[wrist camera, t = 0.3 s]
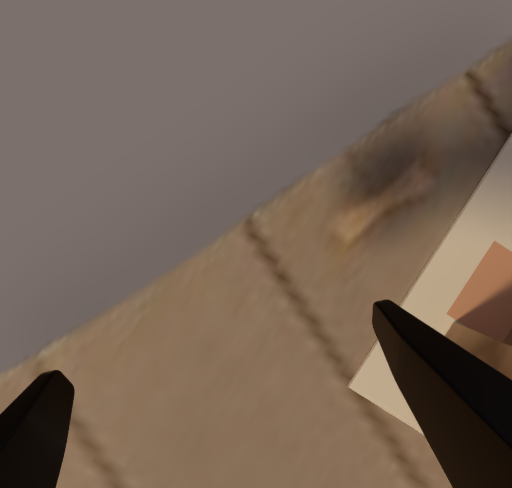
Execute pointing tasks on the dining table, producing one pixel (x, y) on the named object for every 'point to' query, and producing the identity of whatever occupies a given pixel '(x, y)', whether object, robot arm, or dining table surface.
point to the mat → (457, 282)
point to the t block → (484, 347)
